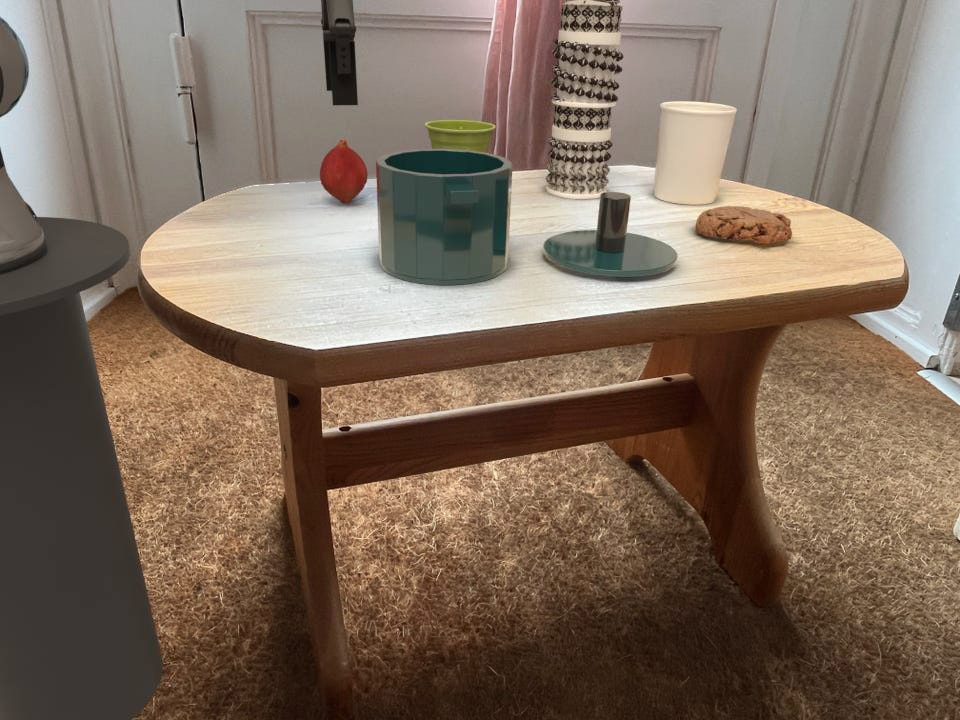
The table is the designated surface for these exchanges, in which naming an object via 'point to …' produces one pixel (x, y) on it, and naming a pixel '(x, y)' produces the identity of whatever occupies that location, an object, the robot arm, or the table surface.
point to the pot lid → (610, 245)
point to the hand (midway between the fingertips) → (341, 97)
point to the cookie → (744, 224)
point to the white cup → (691, 150)
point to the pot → (443, 215)
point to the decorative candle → (584, 97)
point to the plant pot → (460, 134)
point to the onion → (343, 173)
